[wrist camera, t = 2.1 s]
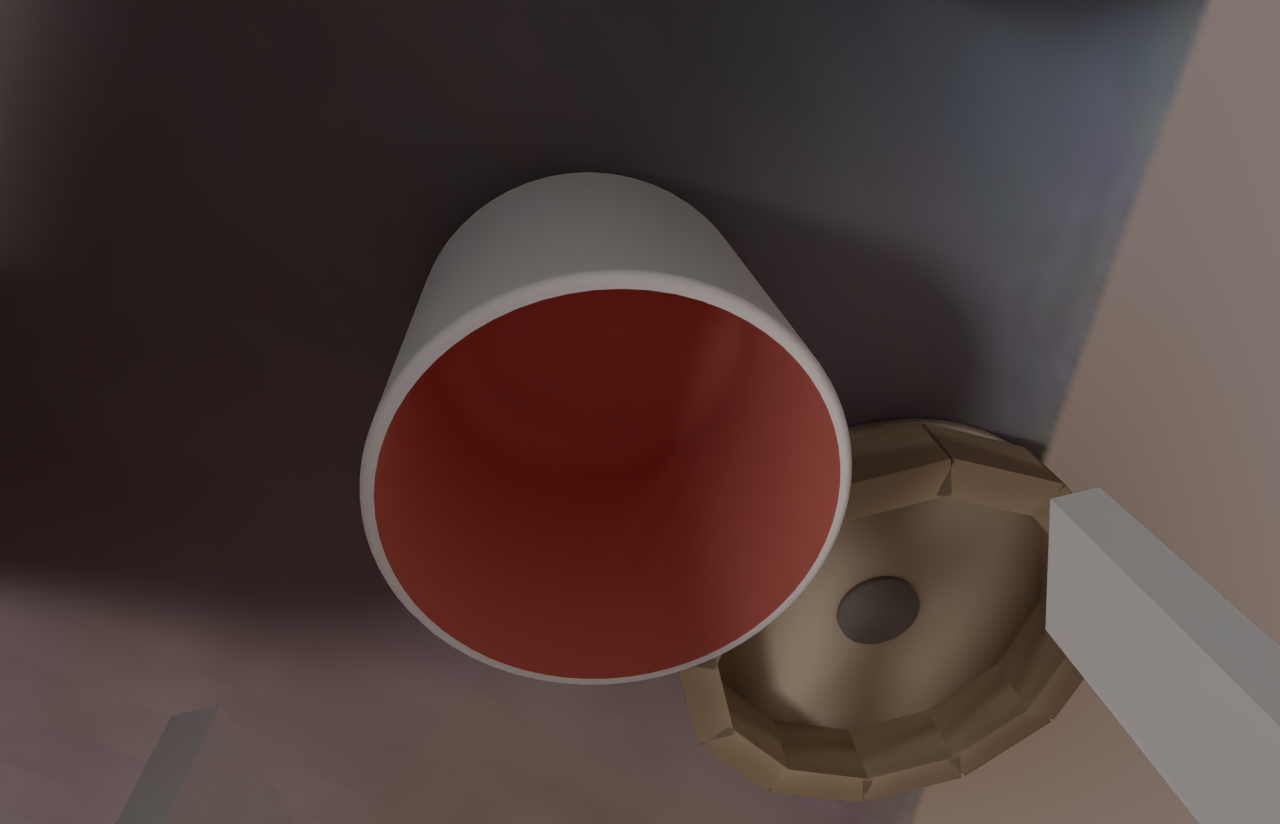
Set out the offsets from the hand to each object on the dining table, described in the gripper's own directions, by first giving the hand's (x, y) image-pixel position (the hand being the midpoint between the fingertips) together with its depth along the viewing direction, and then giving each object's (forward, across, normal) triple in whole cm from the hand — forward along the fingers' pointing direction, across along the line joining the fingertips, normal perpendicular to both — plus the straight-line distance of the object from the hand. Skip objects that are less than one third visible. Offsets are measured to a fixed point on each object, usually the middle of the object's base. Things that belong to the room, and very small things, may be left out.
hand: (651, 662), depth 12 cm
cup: (+14, 0, 0) cm, 14 cm away
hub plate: (+14, +8, -14) cm, 21 cm away
